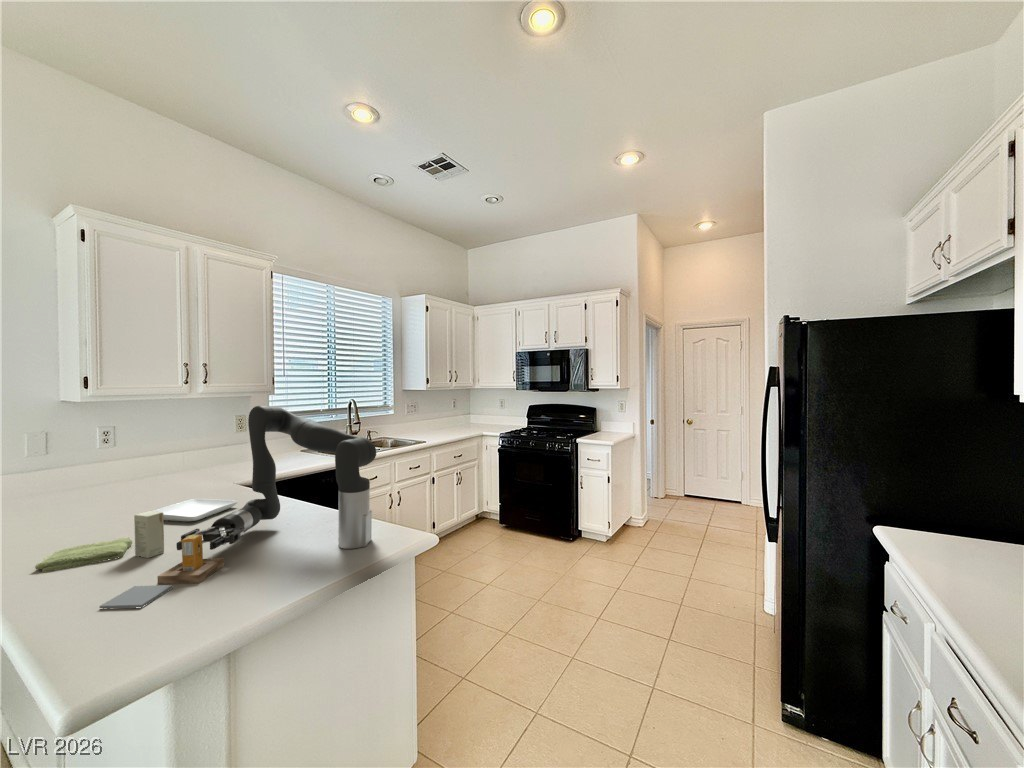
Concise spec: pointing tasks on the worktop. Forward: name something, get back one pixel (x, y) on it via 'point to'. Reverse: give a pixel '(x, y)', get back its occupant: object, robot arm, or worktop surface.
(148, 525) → the skincare box
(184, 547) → the supplement box
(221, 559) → the walnut collar
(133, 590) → the grey rubber pad
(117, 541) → the washcloth
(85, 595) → the worktop surface
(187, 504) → the salad plate
